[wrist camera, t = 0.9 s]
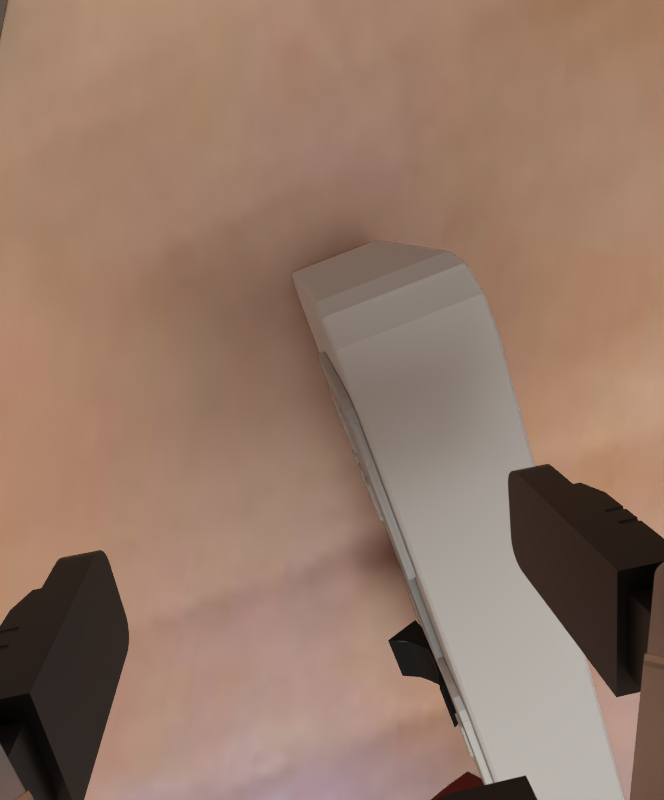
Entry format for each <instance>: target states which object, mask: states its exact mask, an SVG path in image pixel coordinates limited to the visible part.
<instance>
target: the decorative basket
mask: <svg viewBox="0 0 664 800" xmlns="http://www.w3.org/2000/svg"><path fill="white" fill-rule="evenodd" d="M483 785H484V783H483V781H482V779H480V778H479V777H477V776H475V775H473V774H471V773H469V772H466V773H465V774H464V775H462V776H461V777H459V778H458V779H456V780H455V781H454V782H452V783H451V784H450V785H448V786H447V787H446V788H445V789H444V790H443V791H442V792H440V793H439V794H438V795H437V796H436V797H435V798H434V799H433V800H437V799H439V798H441V797H443V796H445V795H446V794H449V793H453V792H457V791H461V790H466V789H470V788H474V787H478V786H483Z"/></svg>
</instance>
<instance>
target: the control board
mask: <svg viewBox="0 0 664 800" xmlns="http://www.w3.org/2000/svg"><path fill="white" fill-rule="evenodd" d="M7 1H8V0H0V35H1V30H2V25H3V20H4V15H5V10H6V5H7Z"/></svg>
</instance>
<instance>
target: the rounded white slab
mask: <svg viewBox="0 0 664 800" xmlns="http://www.w3.org/2000/svg"><path fill="white" fill-rule="evenodd" d="M292 278H293V283H294V286H295V288H296V291H297V294H298V297H299V300H300V302H301V305H302V308H303V310H304V313H305V316H306V318H307V321H308V324H309V326H310V329H311V332H312V334H313V337H314V339H315V342H316V345H317V347H318V350H319V354H318V357H319V360H320V363H321V365H322V368H323V371H324V374H325V376H326V379H327V382H328V384H329V387H328V389H329V392H330V394H331V397H332V399H333V402H334V405H335V407H336V410H337V413H338V415H339V418H340V420H341V423H342V425H343V427H344V429H345V432H346V434H347V436H348V439H349V440H350V443H351V445H352V448H353V449H352V452H353V454H354V457H355V460H356V462H357V465H358V467H359V470H360V473H361V475H362V478H363V480H364V483H365V485H366V488H367V489H368V492H369V494H370V497H371V499H372V502H373V504H374V506H375V508H376V511H377V513H378V516H379V518H380V520H381V521H383V523H384V526H385V528H386V530H387V532H388V535H389V537H390V540H391V544H392V547H393V549H394V552H395V555H396V557H397V560H398V562H399V565H400V568H401V570H402V573H403V576H404V578H405V581H406V583H407V586H408V589H407V591H408V594H409V596H410V599H411V602H412V604H413V607H414V610H415V612H416V615H417V617H418V620H419V623H420V625H421V626H420V625H419V624H418V623H417V622H416V620H415V621H413V622H412V623H411V624H410V625H408V626H407V627H406V628H404V629H403V630H402V631H400V632H399V633H398V634H396V635H395V636H394V637H392V638H391V639H390V640H388V641H389V643H390V646H391V648H392V651H393V653H394V656H395V658H396V660H397V663H398V665H399V668H400V670H401V673H402V675H403V676H415V677H422V678H425V679H427V680H430V681H432V682H434V683H437V684H439V685H440V690H441V693H442V695H443V698H444V701H445V703H446V706H447V708H448V711H449V714H450V716H451V719H452V721H453V724H454V727H456V726H457V725H458V724H459V727H460V729H461V732H462V734H463V737H464V740H465V742H466V745H467V747H468V750H469V752H470V754H471V757H473V759H474V761H475V764H476V766H477V769H478V771H479V774H480V776H481V778H482V781H483V783H484V785H487V784H491V783H496V782H500V781H504V780H508V779H513V778H517V777H521V776H525V775H526V777H527V779H528V781H529V783H530V785H531V787H532V789H533V791H534V793H535V795H536V798H537V800H625V799H624V795H623V791H622V788H621V784H620V780H619V777H618V773H617V769H616V765H615V762H614V758H613V754H612V751H611V747H610V743H609V740H608V736H607V732H606V728H605V725H604V721H603V717H602V714H601V710H600V706H599V702H598V699H597V695H596V691H595V688H594V684H593V680H592V676H591V673H590V669H589V665H588V662H587V658H586V656H585V655H584V653H583V652H582V651H581V649H580V648H579V647H578V645H577V644H576V643H575V641H574V640H573V639H572V637H571V636H570V635H569V633H568V632H567V631H566V629H565V628H564V627H563V625H562V624H561V623H560V621H559V620H558V619H557V617H556V616H555V615H554V613H553V612H552V611H551V609H550V608H549V607H548V605H547V604H546V603H545V601H544V600H543V599H542V597H541V596H540V595H539V593H538V592H537V591H536V589H535V588H534V587H533V585H532V584H531V583H530V581H529V580H528V579H527V577H526V576H525V575H524V573H523V572H522V571H521V569H520V567H519V565H518V563H517V561H516V558H515V555H514V552H513V548H512V542H511V529H510V512H509V495H508V476H509V473H510V472H511V471H514V470H519V469H524V468H530V467H535V465H534V461H533V458H532V454H531V450H530V446H529V443H528V439H527V435H526V432H525V428H524V424H523V420H522V417H521V413H520V409H519V406H518V402H517V398H516V394H515V391H514V387H513V383H512V380H511V376H510V372H509V369H508V365H507V361H506V357H505V354H504V350H503V346H502V343H501V339H500V335H499V332H498V329H497V326H496V323H495V321H494V318H493V315H492V312H491V310H490V307H489V304H488V302H487V299H486V296H485V293H484V292H483V290H482V288H481V287H480V285H479V283H478V282H477V280H476V278H475V277H474V275H473V273H472V272H471V270H470V268H469V267H468V265H467V264H466V263H465V262H464V261H462V260H461V259H460V258H459V257H457V256H456V255H455V254H453V253H452V252H449V251H444V250H438V249H431V248H425V247H418V246H412V245H405V244H399V243H392V242H386V241H379V240H375V241H373V242H370V243H368V244H365V245H362V246H360V247H357V248H355V249H352V250H349V251H347V252H344V253H342V254H339V255H336V256H334V257H331V258H329V259H326V260H323V261H321V262H318V263H316V264H313V265H310V266H308V267H305V268H303V269H300V270H297V271H295V272H293V274H292Z"/></svg>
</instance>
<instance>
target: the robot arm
mask: <svg viewBox="0 0 664 800" xmlns="http://www.w3.org/2000/svg"><path fill="white" fill-rule="evenodd" d="M508 495H509V512H510V529H511V542H512V548H513V552H514V555H515V558H516V561H517V563H518V565H519V567H520V569H521V571H522V572H523V573H524V575H525V576H526V577H527V579H528V580H529V581H530V583H531V584H532V585H533V587H534V588H535V589H536V591H537V592H538V593H539V595H540V596H541V597H542V599H543V600H544V601H545V603H546V604H547V605H548V607H549V608H550V609H551V611H552V612H553V613H554V615H555V616H556V617H557V619H558V620H559V621H560V623H561V624H562V625H563V627H564V628H565V629H566V631H567V632H568V633H569V635H570V636H571V637H572V639H573V640H574V641H575V643H576V644H577V645H578V647H579V648H580V649H581V651H582V652H583V653H584V655H585V656H586V657H587V659H588V660H589V661H590V663H591V664H592V665H593V667H594V668H595V669H596V671H597V672H598V673H599V674H600V676H601V677H602V678H603V680H604V681H605V682H606V684H607V685H608V686H609V688H610V689H611V690H612V692H613V693H614V694H615V696H616V697H619V696H624V695H628V694H632V693H637V692H641V693H640V703H639V713H638V723H637V733H636V743H635V753H634V763H633V773H632V783H631V793H630V800H664V538H662V537H661V536H660V535H659V534H657V533H656V532H655V531H653V530H652V529H651V528H650V527H648V526H647V525H646V524H645V523H643V522H642V521H638V520H637V517H636V516H634V515H633V514H632V513H631V512H629V511H628V510H627V509H623V506H622V505H621V504H619V503H618V502H617V501H615V500H614V499H613V498H612V497H610V496H609V495H608V494H607V493H605V492H603V491H600V490H598V489H595V488H593V487H590V486H588V485H585V484H582V483H576V484H572V483H571V482H570V481H569V480H568V479H566V478H565V477H564V476H563V475H562V474H560V473H559V472H558V471H557V470H556V469H554V468H553V467H552V466H551V465H549V464H545V465H540V466H535V467H530V468H524V469H519V470H514V471H511V472H510V473H509V476H508ZM128 644H129V630H128V623H127V618H126V614H125V611H124V608H123V605H122V602H121V598H120V595H119V592H118V589H117V586H116V582H115V579H114V576H113V573H112V570H111V566H110V563H109V560H108V558H107V556H106V554H105V553H104V552H103V551H101V550H99V551H94V552H89V553H83V554H78V555H73V556H68V557H63V558H60V559H59V560H58V561H57V562H56V564H55V566H54V568H53V569H52V571H51V573H50V574H49V576H48V578H47V580H46V581H45V583H44V585H43V587H42V588H41V589H36V590H32V591H31V592H30V593H29V594H28V595H27V596H26V597H25V598H23V599H22V600H21V601H20V602H19V603H18V604H17V605H16V606H14V607H13V608H12V609H11V610H10V611H9V613H8V615H7V616H6V618H5V619H4V621H3V623H2V624H1V626H0V800H84V798H85V794H86V791H87V788H88V784H89V781H90V777H91V774H92V771H93V767H94V764H95V760H96V757H97V754H98V750H99V747H100V743H101V740H102V737H103V733H104V730H105V726H106V723H107V720H108V716H109V713H110V709H111V706H112V703H113V699H114V696H115V692H116V689H117V686H118V682H119V679H120V675H121V672H122V669H123V665H124V662H125V658H126V655H127V651H128ZM437 800H537V798H536V795H535V793H534V791H533V789H532V787H531V785H530V783H529V781H528V779H527V777H526V775H525V776H521V777H517V778H513V779H508V780H504V781H500V782H496V783H491V784H487V785H483V786H478V787H474V788H470V789H466V790H461V791H457V792H453V793H449V794H446V795H445V796H443V797H441V798H439V799H437Z"/></svg>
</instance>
